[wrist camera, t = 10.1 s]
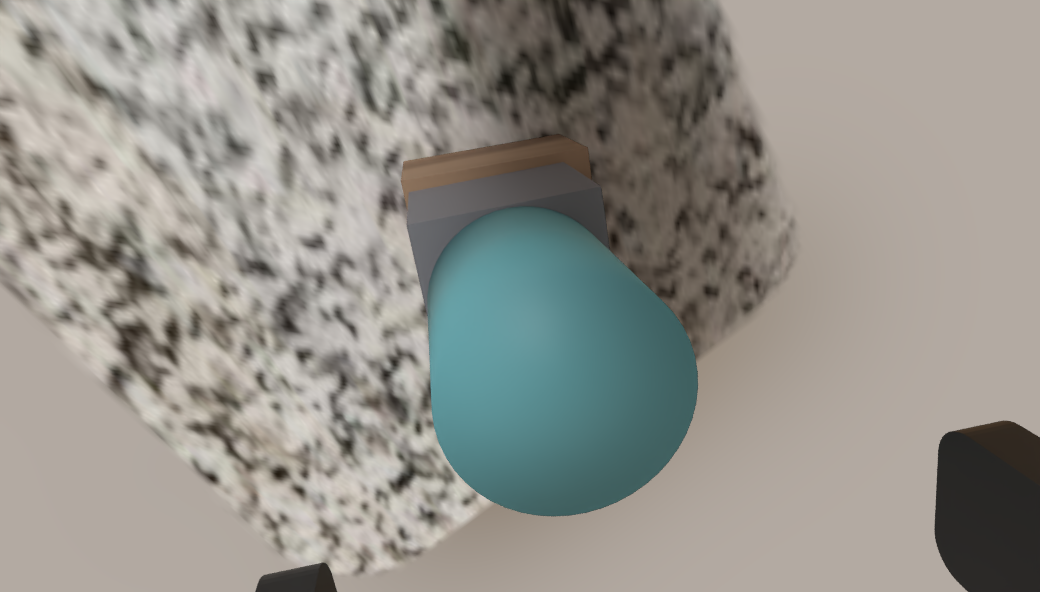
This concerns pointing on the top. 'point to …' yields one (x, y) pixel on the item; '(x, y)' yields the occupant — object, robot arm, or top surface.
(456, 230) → the charcoal top block
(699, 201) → the top surface
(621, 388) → the teal cylinder
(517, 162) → the walnut base block
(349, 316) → the top surface
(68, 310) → the top surface
